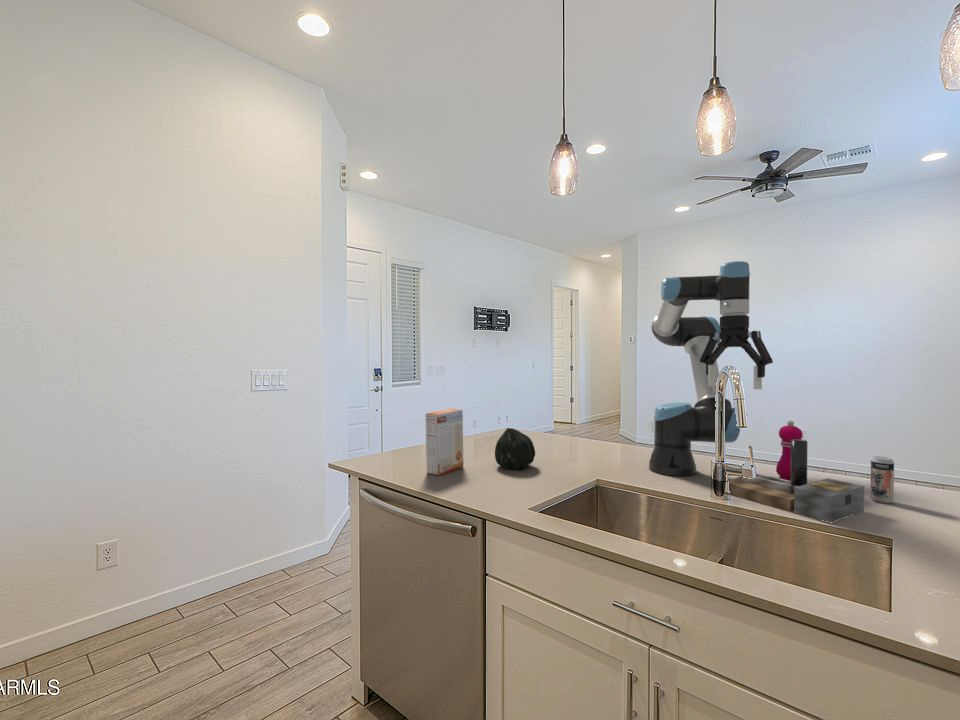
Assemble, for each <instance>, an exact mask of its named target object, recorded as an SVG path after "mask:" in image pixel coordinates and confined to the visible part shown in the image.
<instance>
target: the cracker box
mask: <svg viewBox="0 0 960 720" xmlns="http://www.w3.org/2000/svg"><path fill="white" fill-rule="evenodd" d="M463 411H464V410H463V409H456V408H450V409H449V408H448V409H443V410H439V411H433V412H427V413H425V445H426V446H425V449H426V451H425V452H426V453H425V455H426V458H425V459H426V473H427V474H429V475H435V476H441V475H445V474H447V473H450V472H452V471H455V470H457V469H460V468H463V467H464V423H463V422H464V419H463V417H464V415H463Z"/></svg>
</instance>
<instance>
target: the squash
mask: <svg viewBox="0 0 960 720" xmlns="http://www.w3.org/2000/svg"><path fill="white" fill-rule="evenodd" d="M494 457H495V461H496V464H498V465H499V466H500V467H502V468H505V469H507V470H509V469H512V468H513V469H514V470H519V469H526V468H528V467H529V465H530V464H532V463H533V462H534V461H535V457H536V450H535V445H534V442H533V441H532V439H531V438H530V437H529V436H528V435H527V434H525V433H523V432H521V431H519V430H517V429H515V428H512V427H506V429H505V430H504V432H503V433H502V434H501V435H500V437H499V438H498V440H497V441H496V444H495V449H494Z"/></svg>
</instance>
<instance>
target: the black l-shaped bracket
mask: <svg viewBox="0 0 960 720" xmlns="http://www.w3.org/2000/svg"><path fill="white" fill-rule="evenodd" d="M784 483H785V484H789V485H792V491H793V492H794V488H795V487H798V486H802V485H805V484H808V440H806V439H801V440H800V439H791V482H790V481H788V482H784Z"/></svg>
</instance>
